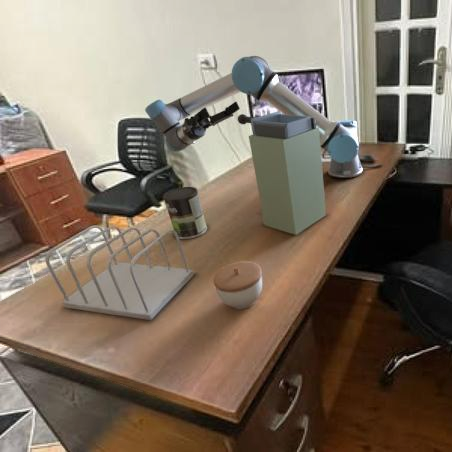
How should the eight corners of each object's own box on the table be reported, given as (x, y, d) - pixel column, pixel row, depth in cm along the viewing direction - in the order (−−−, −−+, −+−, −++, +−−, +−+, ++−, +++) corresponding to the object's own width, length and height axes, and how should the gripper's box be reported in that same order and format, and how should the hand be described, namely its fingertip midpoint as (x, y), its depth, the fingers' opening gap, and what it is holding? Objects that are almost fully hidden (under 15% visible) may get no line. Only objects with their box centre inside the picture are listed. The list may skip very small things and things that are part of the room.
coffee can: (184, 242, 110) (171, 202, 104) (169, 233, 117) (157, 194, 110) (213, 229, 117) (203, 190, 110) (198, 221, 123) (187, 184, 117)
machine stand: (326, 215, 121) (317, 116, 105) (295, 235, 110) (281, 128, 94) (295, 206, 129) (283, 114, 113) (263, 224, 118) (245, 124, 102)
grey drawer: (313, 128, 106) (312, 113, 104) (286, 138, 97) (284, 122, 95) (254, 122, 120) (252, 109, 118) (226, 130, 112) (223, 116, 109)
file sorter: (64, 308, 85) (34, 255, 78) (118, 267, 100) (97, 219, 93) (151, 320, 79) (127, 264, 72) (195, 275, 94) (179, 224, 87)
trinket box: (255, 318, 78) (248, 284, 73) (212, 313, 80) (202, 280, 76) (272, 287, 87) (266, 256, 83) (233, 284, 89) (225, 253, 85)
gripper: (222, 133, 143) (253, 112, 129) (168, 147, 124) (198, 125, 111) (213, 115, 141) (244, 93, 128) (157, 127, 123) (186, 103, 109)
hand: (222, 108), depth 119 cm, fingers open, 13 cm apart
